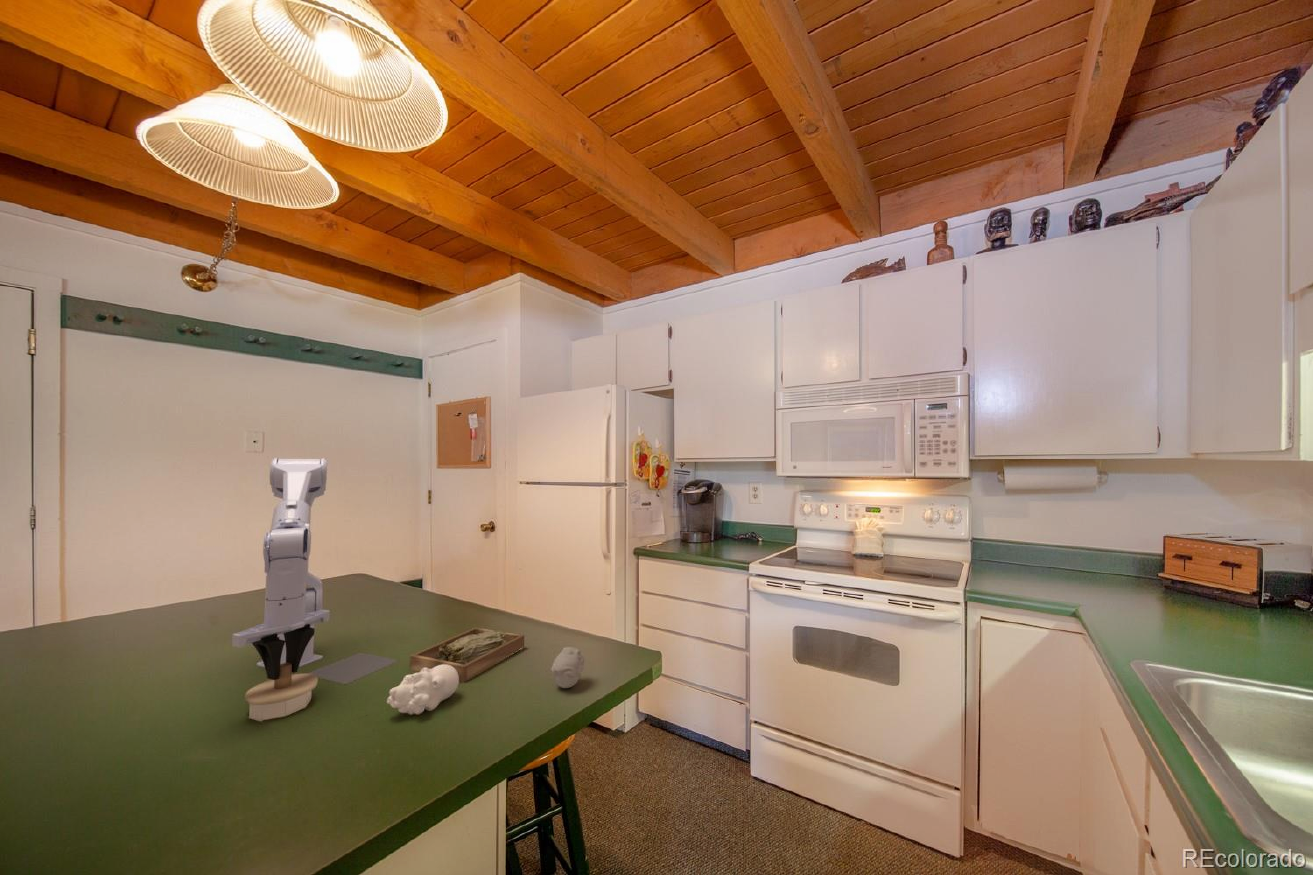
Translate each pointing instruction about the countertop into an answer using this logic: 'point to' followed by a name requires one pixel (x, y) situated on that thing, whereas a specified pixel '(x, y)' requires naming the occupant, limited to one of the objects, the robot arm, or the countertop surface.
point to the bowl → (279, 708)
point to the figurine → (424, 689)
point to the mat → (352, 668)
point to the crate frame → (474, 667)
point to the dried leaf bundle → (471, 647)
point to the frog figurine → (567, 667)
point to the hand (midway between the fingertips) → (282, 674)
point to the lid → (281, 687)
